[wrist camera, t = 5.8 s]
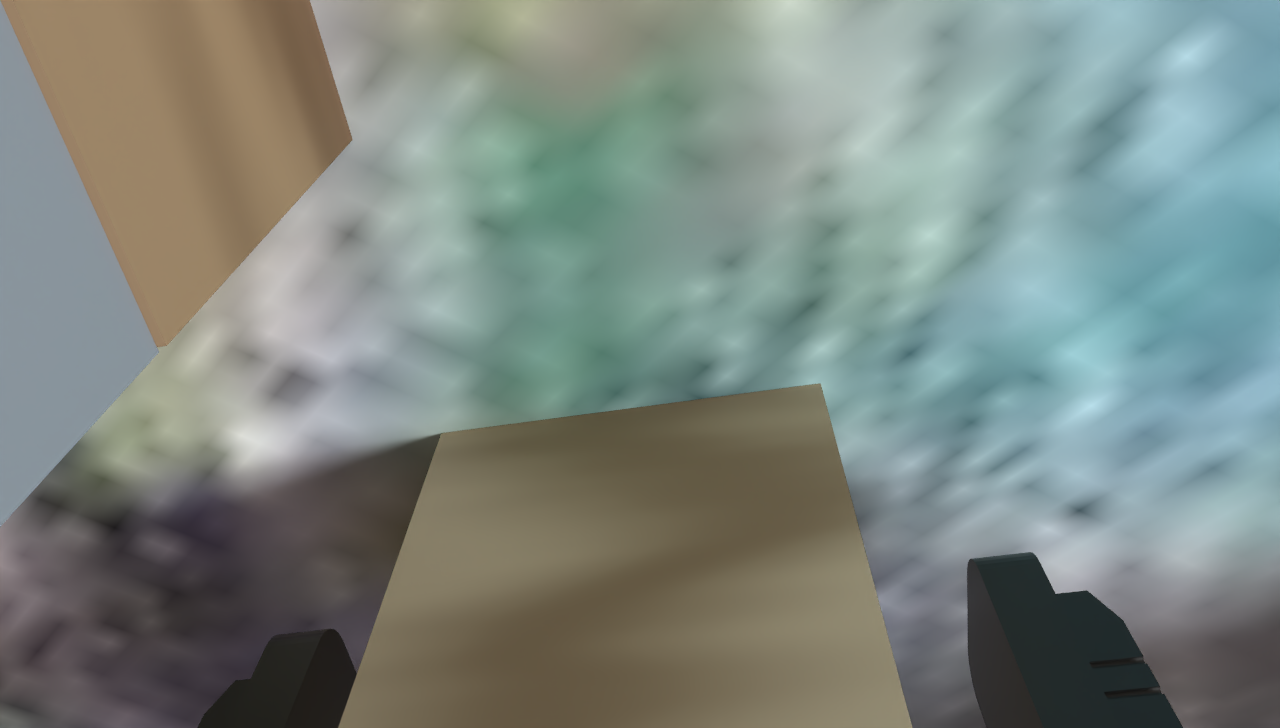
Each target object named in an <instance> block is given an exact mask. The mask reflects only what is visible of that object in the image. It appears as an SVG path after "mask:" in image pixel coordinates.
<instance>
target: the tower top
mask: <svg viewBox="0 0 1280 728" xmlns="http://www.w3.org/2000/svg"><path fill="white" fill-rule="evenodd" d="M158 353H159V351H158V349H157V346H156V344H155V342H154V340H153V338H152V335H151V333H150V331H149V329H148V327H147V324H146V322H145V320H144V318H143V315H142V313H141V311H140V309H139V307H138V304H137V302H136V300H135V298H134V295H133V293H132V291H131V289H130V287H129V284H128V282H127V280H126V278H125V276H124V273H123V271H122V269H121V267H120V264H119V262H118V260H117V258H116V256H115V253H114V251H113V249H112V247H111V245H110V242H109V240H108V238H107V236H106V233H105V231H104V229H103V227H102V225H101V222H100V220H99V218H98V216H97V213H96V211H95V209H94V207H93V205H92V202H91V200H90V198H89V196H88V194H87V191H86V189H85V187H84V185H83V182H82V180H81V178H80V176H79V174H78V171H77V169H76V167H75V165H74V162H73V160H72V158H71V156H70V154H69V151H68V149H67V147H66V145H65V143H64V140H63V138H62V136H61V134H60V131H59V129H58V127H57V125H56V123H55V120H54V118H53V116H52V114H51V112H50V109H49V107H48V105H47V103H46V100H45V98H44V96H43V94H42V92H41V89H40V87H39V85H38V83H37V80H36V78H35V76H34V74H33V72H32V69H31V67H30V65H29V63H28V61H27V58H26V56H25V54H24V52H23V49H22V47H21V45H20V43H19V41H18V38H17V36H16V34H15V32H14V29H13V27H12V25H11V23H10V21H9V18H8V16H7V14H6V12H5V10H4V7H3V5H2V3H1V1H0V527H1V525H2V524H3V523H4V522H5V521H6V520H7V519H8V518H9V517H10V516H11V514H12V513H13V512H14V511H15V510H16V509H17V508H18V507H19V506H20V505H21V503H22V502H23V501H24V500H25V499H26V498H27V497H28V496H29V495H30V494H31V492H32V491H33V490H34V489H35V488H36V487H37V486H38V485H39V484H40V483H41V481H42V480H43V479H44V478H45V477H46V476H47V475H48V474H49V473H50V471H51V470H52V469H53V468H54V467H55V466H56V465H57V464H58V463H59V462H60V460H61V459H62V458H63V457H64V456H65V455H66V454H67V453H68V452H69V451H70V449H71V448H72V447H73V446H74V445H75V444H76V443H77V442H78V441H79V440H80V438H81V437H82V436H83V435H84V434H85V433H86V432H87V431H88V430H89V429H90V427H91V426H92V425H93V424H94V423H95V422H96V421H97V420H98V419H99V418H100V416H101V415H102V414H103V413H104V412H105V411H106V410H107V409H108V408H109V407H110V405H111V404H112V403H113V402H114V401H115V400H116V399H117V398H118V397H119V396H120V394H121V393H122V392H123V391H124V390H125V389H126V388H127V387H128V386H129V385H130V383H131V382H132V381H133V380H134V379H135V378H136V377H137V376H138V375H139V374H140V372H141V371H142V370H143V369H144V368H145V367H146V366H147V365H148V364H149V363H150V361H151V360H152V359H153V358H154V357H155V356H156V355H157V354H158Z"/></svg>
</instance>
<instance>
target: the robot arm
mask: <svg viewBox="0 0 1280 728" xmlns="http://www.w3.org/2000/svg"><path fill="white" fill-rule="evenodd" d="M967 597H968V656H969V665H970V671H971V677H972V682H973V686H974V690H975V694H976V698H977V701H978V704H979V707H980V710H981V713H982V715H983V718H984V721H985V724H986V727H987V728H1183V727H1182V725H1181V723H1180V721H1179V720H1178V718H1177V716H1176V714H1175V712H1174V711H1173V709H1172V707H1171V705H1170V704H1169V702H1168V700H1167V698H1166V696H1165V695H1164V694H1162V693H1161V691H1160V686H1159V684H1158V682H1157V680H1156V679H1155V677H1154V675H1153V673H1152V671H1151V670H1150V668H1149V666H1148V664H1145V663H1144V660H1143V655H1142V654H1141V652H1140V650H1139V648H1138V646H1137V645H1136V643H1135V641H1134V639H1133V637H1132V636H1131V634H1130V632H1129V630H1128V629H1127V627H1126V625H1125V623H1124V621H1123V620H1122V619H1121V618H1120V617H1118V616H1117V615H1116V614H1115V613H1114V612H1112V611H1111V610H1110V609H1109V608H1107V607H1106V606H1105V605H1104V604H1103V603H1101V602H1100V601H1099V600H1098V599H1097V598H1095V597H1094V596H1093V595H1092V594H1090V593H1089V592H1088V591H1079V592H1070V593H1061V594H1055V592H1054V590H1053V588H1052V586H1051V584H1050V582H1049V580H1048V578H1047V576H1046V574H1045V572H1044V570H1043V568H1042V566H1041V564H1040V562H1039V560H1038V558H1037V557H1036V556H1035V554H1033V553H1031V552H1028V553H1019V554H1010V555H1002V556H993V557H984V558H975V559H970V560H969V562H968V568H967ZM356 675H357V673H356V671H355V669H354V666H353V664H352V661H351V659H350V657H349V654H348V652H347V649H346V647H345V645H344V642H343V640H342V638H341V636H340V635H339V633H338V632H337V631H336V630H334V629H325V630H316V631H307V632H298V633H290V634H281V635H276V636H274V637H273V638H271V640H270V641H269V642H268V644H267V646H266V648H265V650H264V652H263V654H262V656H261V658H260V660H259V663H258V665H257V667H256V669H255V671H254V673H253V675H252V678H251V679H246V680H237V681H235V682H234V683H233V684H232V685H231V686H230V687H229V688H228V689H227V690H226V692H225V693H224V694H223V695H222V696H221V697H220V698H219V699H218V700H217V701H216V702H215V703H214V704H213V706H212V707H211V708H210V709H209V710H208V711H207V712H206V713H205V714H204V716H203V718H202V720H201V722H200V724H199V726H198V728H338V727H339V724H340V721H341V718H342V715H343V712H344V710H345V707H346V704H347V701H348V698H349V695H350V692H351V690H352V687H353V684H354V681H355V678H356Z"/></svg>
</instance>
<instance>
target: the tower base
mask: <svg viewBox="0 0 1280 728" xmlns="http://www.w3.org/2000/svg"><path fill="white" fill-rule="evenodd" d="M0 1H1V3H2V5H3V7H4V10H5V12H6V14H7V16H8V18H9V21H10V23H11V25H12V27H13V29H14V32H15V34H16V36H17V38H18V41H19V43H20V45H21V47H22V49H23V52H24V54H25V56H26V58H27V61H28V63H29V65H30V67H31V69H32V72H33V74H34V76H35V78H36V80H37V83H38V85H39V87H40V89H41V92H42V94H43V96H44V98H45V100H46V103H47V105H48V107H49V109H50V112H51V114H52V116H53V118H54V120H55V123H56V125H57V127H58V129H59V131H60V134H61V136H62V138H63V140H64V143H65V145H66V147H67V149H68V151H69V154H70V156H71V158H72V160H73V162H74V165H75V167H76V169H77V171H78V174H79V176H80V178H81V180H82V182H83V185H84V187H85V189H86V191H87V194H88V196H89V198H90V200H91V202H92V205H93V207H94V209H95V211H96V213H97V216H98V218H99V220H100V222H101V225H102V227H103V229H104V231H105V233H106V236H107V238H108V240H109V242H110V245H111V247H112V249H113V251H114V253H115V256H116V258H117V260H118V262H119V264H120V267H121V269H122V271H123V273H124V276H125V278H126V280H127V282H128V284H129V287H130V289H131V291H132V293H133V295H134V298H135V300H136V302H137V304H138V307H139V309H140V311H141V313H142V315H143V318H144V320H145V322H146V324H147V327H148V329H149V331H150V333H151V335H152V338H153V340H154V342H155V344H156V346H157V347H161V346H167V345H168V344H169V343H170V342H171V340H172V339H173V338H174V337H175V336H176V335H177V334H178V333H179V332H180V330H181V329H182V328H183V327H184V326H185V325H186V324H187V323H188V322H189V320H190V319H191V318H192V317H193V316H194V315H195V314H196V313H197V312H198V310H199V309H200V308H201V307H202V306H203V305H204V304H205V303H206V302H207V301H208V299H209V298H210V297H211V296H212V295H213V294H214V293H215V292H216V291H217V289H218V288H219V287H220V286H221V285H222V284H223V283H224V282H225V281H226V279H227V278H228V277H229V276H230V275H231V274H232V273H233V272H234V271H235V269H236V268H237V267H238V266H239V265H240V264H241V263H242V262H243V261H244V259H245V258H246V257H247V256H248V255H249V254H250V253H251V252H252V251H253V249H254V248H255V247H256V246H257V245H258V244H259V243H260V242H261V241H262V239H263V238H264V237H265V236H266V235H267V234H268V233H269V232H270V231H271V229H272V228H273V227H274V226H275V225H276V224H277V223H278V222H279V221H280V220H281V218H282V217H283V216H284V215H285V214H286V213H287V212H288V211H289V210H290V208H291V207H292V206H293V205H294V204H295V203H296V202H297V201H298V200H299V198H300V197H301V196H302V195H303V194H304V193H305V192H306V191H307V190H308V188H309V187H310V186H311V185H312V184H313V183H314V182H315V181H316V180H317V178H318V177H319V176H320V175H321V174H322V173H323V172H324V171H325V170H326V168H327V167H328V166H329V165H330V164H331V163H332V162H333V161H334V160H335V158H336V157H337V156H338V155H339V154H340V153H341V152H342V151H343V150H344V149H345V147H346V146H347V145H348V144H349V143H350V142H351V141H352V136H351V133H350V130H349V127H348V123H347V120H346V117H345V114H344V110H343V107H342V104H341V101H340V97H339V94H338V91H337V88H336V84H335V81H334V78H333V75H332V71H331V68H330V65H329V62H328V58H327V55H326V52H325V49H324V45H323V42H322V39H321V36H320V32H319V29H318V26H317V23H316V19H315V16H314V13H313V10H312V6H311V3H310V0H0Z"/></svg>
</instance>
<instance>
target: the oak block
mask: <svg viewBox="0 0 1280 728" xmlns="http://www.w3.org/2000/svg"><path fill="white" fill-rule="evenodd" d="M338 728H912V724H911V720H910V717H909V713H908V709H907V705H906V702H905V698H904V694H903V691H902V687H901V683H900V679H899V676H898V672H897V668H896V664H895V661H894V657H893V653H892V649H891V646H890V642H889V638H888V634H887V631H886V627H885V623H884V619H883V616H882V612H881V608H880V604H879V601H878V597H877V593H876V589H875V586H874V582H873V578H872V574H871V571H870V567H869V563H868V559H867V556H866V552H865V548H864V544H863V541H862V537H861V533H860V530H859V526H858V522H857V518H856V515H855V511H854V507H853V503H852V500H851V496H850V492H849V488H848V485H847V481H846V477H845V473H844V470H843V466H842V462H841V458H840V455H839V451H838V447H837V443H836V440H835V436H834V432H833V428H832V425H831V421H830V417H829V413H828V410H827V406H826V402H825V398H824V395H823V391H822V387H821V384H812V385H805V386H797V387H789V388H782V389H774V390H767V391H759V392H751V393H744V394H736V395H729V396H721V397H713V398H706V399H698V400H691V401H683V402H675V403H668V404H660V405H652V406H645V407H637V408H630V409H622V410H614V411H607V412H599V413H592V414H584V415H576V416H569V417H561V418H554V419H546V420H538V421H531V422H523V423H516V424H508V425H500V426H493V427H485V428H478V429H470V430H462V431H455V432H447V433H441V435H440V438H439V441H438V444H437V447H436V450H435V453H434V455H433V458H432V461H431V464H430V467H429V470H428V473H427V475H426V478H425V481H424V484H423V487H422V490H421V492H420V495H419V498H418V501H417V504H416V507H415V510H414V512H413V515H412V518H411V521H410V524H409V527H408V530H407V532H406V535H405V538H404V541H403V544H402V547H401V550H400V552H399V555H398V558H397V561H396V564H395V567H394V570H393V572H392V575H391V578H390V581H389V584H388V587H387V590H386V592H385V595H384V598H383V601H382V604H381V607H380V610H379V612H378V615H377V618H376V621H375V624H374V627H373V630H372V632H371V635H370V638H369V641H368V644H367V647H366V650H365V652H364V655H363V658H362V661H361V664H360V667H359V670H358V672H357V675H356V678H355V681H354V684H353V687H352V690H351V692H350V695H349V698H348V701H347V704H346V707H345V710H344V712H343V715H342V718H341V721H340V724H339V727H338Z"/></svg>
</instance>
